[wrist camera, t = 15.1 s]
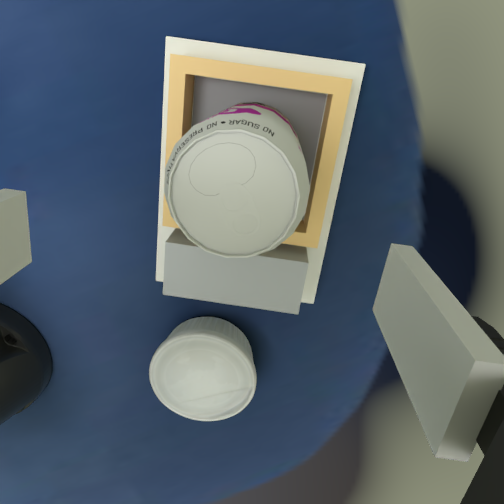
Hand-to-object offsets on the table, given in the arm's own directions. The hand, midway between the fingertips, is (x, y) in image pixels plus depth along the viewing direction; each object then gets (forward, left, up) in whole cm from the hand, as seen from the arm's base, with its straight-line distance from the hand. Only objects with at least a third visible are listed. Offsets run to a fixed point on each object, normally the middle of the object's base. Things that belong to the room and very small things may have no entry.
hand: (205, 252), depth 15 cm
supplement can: (0, 0, -23) cm, 23 cm away
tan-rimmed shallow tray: (-3, 0, -25) cm, 25 cm away
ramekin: (-23, +2, -25) cm, 34 cm away
